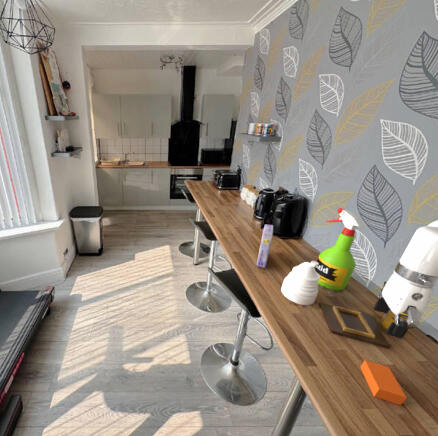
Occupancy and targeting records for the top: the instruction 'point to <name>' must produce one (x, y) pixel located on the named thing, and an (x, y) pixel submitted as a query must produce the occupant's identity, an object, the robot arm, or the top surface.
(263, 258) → the cake pan box
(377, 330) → the board
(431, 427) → the top surface
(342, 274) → the spray bottle
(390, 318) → the condiment
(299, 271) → the honey pot
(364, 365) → the pad
